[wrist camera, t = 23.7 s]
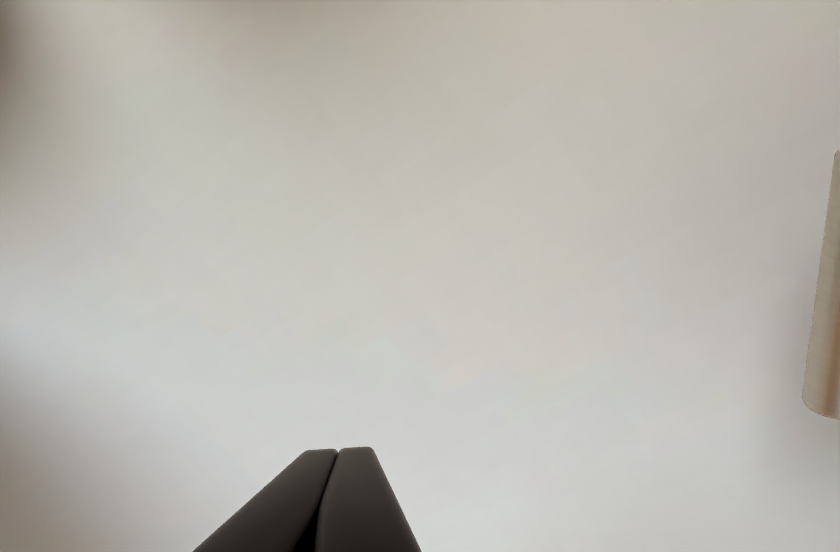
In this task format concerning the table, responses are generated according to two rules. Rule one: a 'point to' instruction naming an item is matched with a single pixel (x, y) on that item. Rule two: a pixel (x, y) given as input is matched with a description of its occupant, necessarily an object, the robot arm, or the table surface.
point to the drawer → (826, 316)
